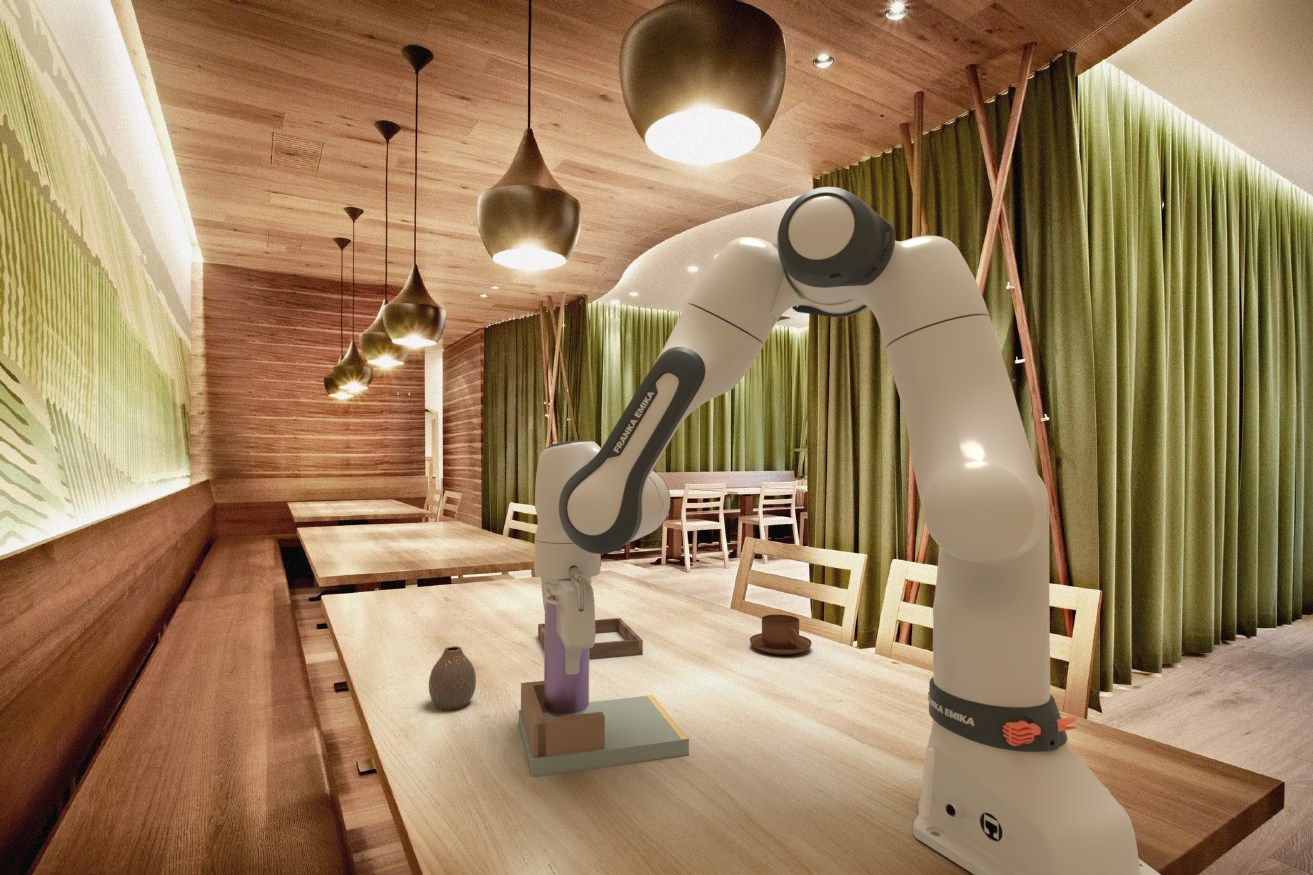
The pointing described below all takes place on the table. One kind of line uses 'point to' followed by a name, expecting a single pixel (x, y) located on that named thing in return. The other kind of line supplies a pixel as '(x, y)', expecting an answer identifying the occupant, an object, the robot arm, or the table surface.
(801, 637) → the cup and saucer
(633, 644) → the serving tray frame
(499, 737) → the table surface
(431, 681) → the vase
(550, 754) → the dock
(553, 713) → the beverage can
